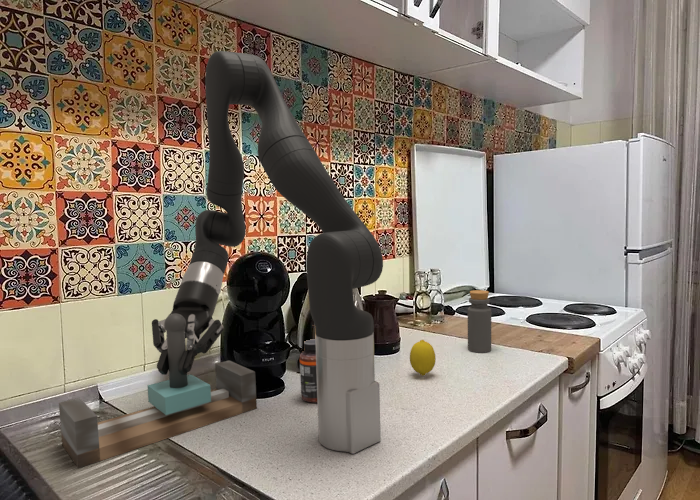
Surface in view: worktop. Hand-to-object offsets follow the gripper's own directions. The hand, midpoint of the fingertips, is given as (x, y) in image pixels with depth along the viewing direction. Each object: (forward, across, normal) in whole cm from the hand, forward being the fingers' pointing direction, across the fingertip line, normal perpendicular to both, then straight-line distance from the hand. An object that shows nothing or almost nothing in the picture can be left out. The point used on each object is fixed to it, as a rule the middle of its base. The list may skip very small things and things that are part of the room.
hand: (172, 372), depth 84 cm
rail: (+7, -2, +7) cm, 10 cm away
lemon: (-13, +43, +27) cm, 52 cm away
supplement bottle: (-3, +22, +17) cm, 28 cm away
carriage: (+3, 0, +6) cm, 6 cm away
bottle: (-27, +57, +41) cm, 76 cm away
